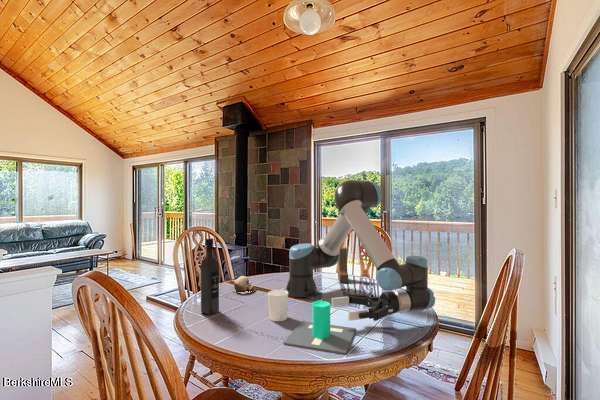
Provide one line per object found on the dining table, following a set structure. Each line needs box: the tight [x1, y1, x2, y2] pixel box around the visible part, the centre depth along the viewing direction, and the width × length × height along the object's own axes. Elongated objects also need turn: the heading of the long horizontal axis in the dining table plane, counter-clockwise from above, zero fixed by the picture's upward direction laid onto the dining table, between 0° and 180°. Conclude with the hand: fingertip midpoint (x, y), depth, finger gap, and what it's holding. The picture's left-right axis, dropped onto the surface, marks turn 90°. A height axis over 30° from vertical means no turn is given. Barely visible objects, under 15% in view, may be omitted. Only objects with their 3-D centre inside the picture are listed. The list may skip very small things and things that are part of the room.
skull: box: [233, 275, 257, 293], centre depth 154 cm, size 12×10×10 cm
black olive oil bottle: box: [200, 238, 220, 315], centre depth 125 cm, size 6×6×30 cm
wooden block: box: [337, 246, 349, 284], centre depth 172 cm, size 9×4×18 cm, turn 179°
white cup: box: [267, 289, 289, 323], centre depth 119 cm, size 8×8×10 cm
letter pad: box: [283, 320, 357, 355], centre depth 103 cm, size 20×18×1 cm
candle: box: [311, 298, 331, 339], centre depth 102 cm, size 6×6×12 cm
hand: (339, 308), depth 104 cm, fingers open, 13 cm apart
